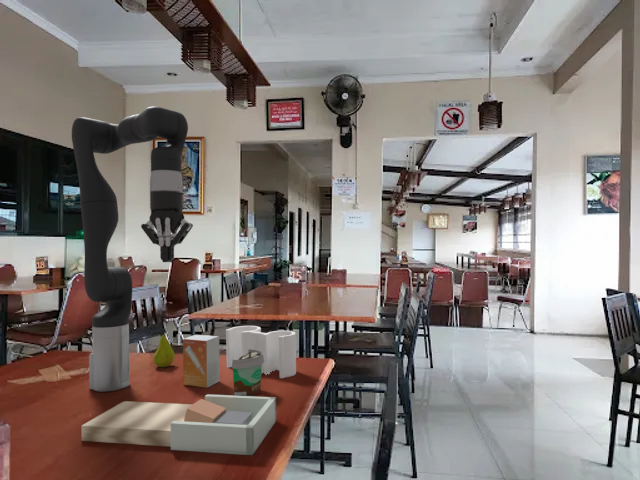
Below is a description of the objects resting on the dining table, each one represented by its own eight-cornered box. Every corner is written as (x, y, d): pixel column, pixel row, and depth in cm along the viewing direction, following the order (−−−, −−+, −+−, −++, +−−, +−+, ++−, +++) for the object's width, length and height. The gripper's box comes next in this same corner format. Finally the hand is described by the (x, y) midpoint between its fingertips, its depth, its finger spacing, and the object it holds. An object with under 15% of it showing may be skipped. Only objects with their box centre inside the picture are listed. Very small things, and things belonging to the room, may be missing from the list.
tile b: (213, 437, 88) (212, 421, 88) (225, 424, 93) (225, 410, 94) (241, 439, 86) (241, 423, 86) (252, 426, 92) (252, 412, 92)
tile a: (183, 422, 89) (187, 408, 89) (197, 411, 95) (201, 398, 95) (209, 433, 88) (213, 418, 88) (222, 421, 94) (226, 408, 93)
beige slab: (81, 440, 88) (81, 425, 88) (124, 414, 102) (124, 401, 102) (174, 446, 85) (173, 431, 85) (205, 418, 99) (204, 405, 99)
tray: (170, 449, 84) (170, 423, 84) (207, 416, 100) (207, 394, 100) (252, 455, 81) (252, 428, 81) (276, 420, 97) (276, 397, 97)
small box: (182, 385, 123) (182, 338, 123) (196, 378, 129) (196, 334, 129) (207, 388, 120) (206, 340, 120) (220, 381, 126) (219, 335, 126)
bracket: (303, 371, 134) (302, 332, 135) (282, 380, 127) (281, 337, 127) (245, 360, 149) (245, 324, 149) (223, 367, 141) (223, 329, 142)
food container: (255, 401, 109) (254, 361, 109) (232, 400, 110) (231, 360, 110) (270, 386, 121) (270, 349, 121) (249, 385, 122) (249, 348, 122)
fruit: (169, 363, 147) (169, 327, 147) (177, 366, 142) (177, 329, 143) (150, 366, 143) (150, 329, 143) (158, 370, 138) (157, 332, 138)
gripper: (132, 190, 105) (133, 263, 105) (184, 187, 102) (185, 262, 102) (150, 193, 112) (150, 261, 112) (198, 191, 110) (199, 261, 110)
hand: (167, 261), depth 107 cm, fingers closed
